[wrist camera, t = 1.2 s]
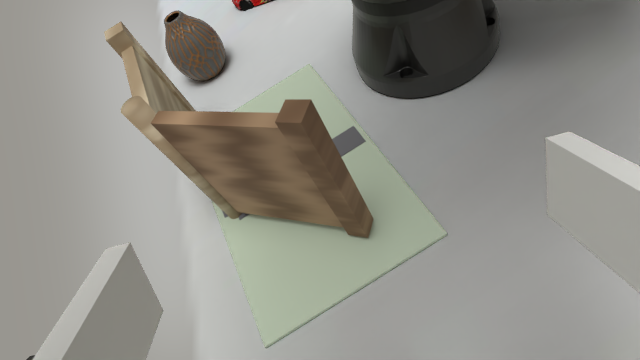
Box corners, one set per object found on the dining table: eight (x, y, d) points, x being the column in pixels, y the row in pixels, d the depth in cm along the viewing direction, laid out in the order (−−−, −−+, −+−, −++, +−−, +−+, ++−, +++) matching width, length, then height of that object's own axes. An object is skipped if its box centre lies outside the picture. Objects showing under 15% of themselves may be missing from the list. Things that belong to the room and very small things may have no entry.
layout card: (310, 65, 53) (308, 63, 53) (447, 234, 35) (446, 232, 35) (190, 140, 53) (188, 138, 53) (266, 348, 35) (264, 346, 35)
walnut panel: (240, 218, 43) (140, 118, 32) (247, 202, 44) (152, 99, 32) (368, 237, 37) (301, 122, 25) (373, 219, 38) (311, 99, 26)
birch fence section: (210, 129, 53) (120, 21, 41) (246, 212, 43) (143, 105, 32) (198, 136, 53) (104, 31, 41) (230, 222, 43) (122, 118, 32)
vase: (181, 91, 60) (139, 40, 53) (198, 56, 64) (160, 4, 57) (224, 85, 57) (185, 30, 51) (239, 48, 61) (204, -7, 54)
